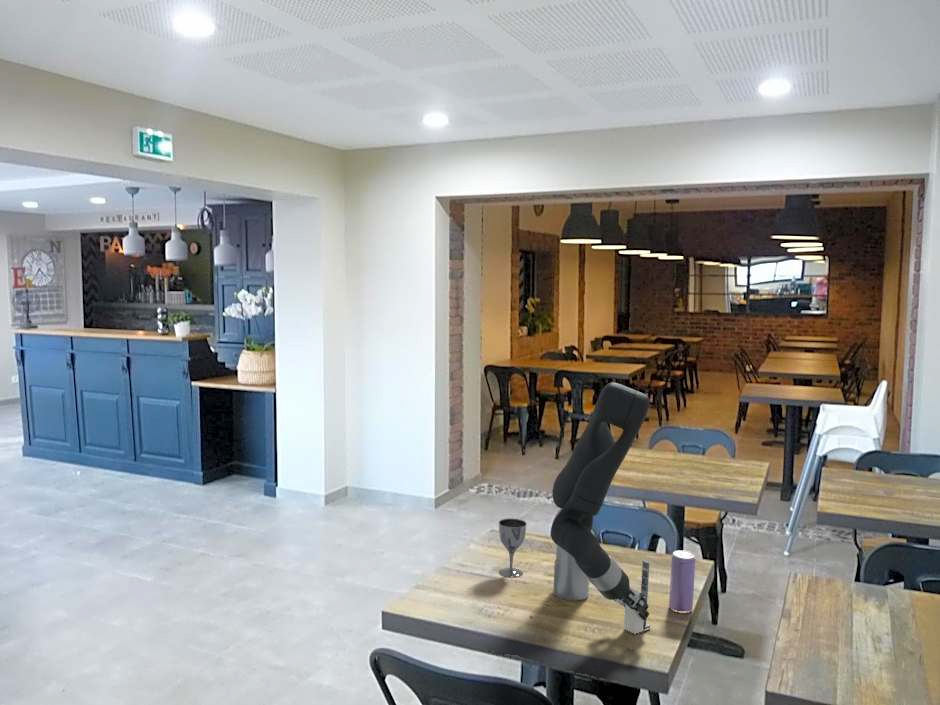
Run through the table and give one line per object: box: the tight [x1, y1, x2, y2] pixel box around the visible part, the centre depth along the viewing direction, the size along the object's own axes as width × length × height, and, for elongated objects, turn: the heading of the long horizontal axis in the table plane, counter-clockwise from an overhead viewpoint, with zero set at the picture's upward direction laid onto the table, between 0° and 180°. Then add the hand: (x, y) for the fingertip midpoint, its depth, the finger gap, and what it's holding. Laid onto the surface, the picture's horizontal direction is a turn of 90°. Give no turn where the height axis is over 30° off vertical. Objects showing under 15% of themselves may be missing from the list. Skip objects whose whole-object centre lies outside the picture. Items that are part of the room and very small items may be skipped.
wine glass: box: [498, 517, 527, 579], centre depth 219 cm, size 8×8×15 cm
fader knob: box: [623, 589, 645, 635], centre depth 185 cm, size 3×4×9 cm
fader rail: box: [640, 560, 651, 630], centre depth 186 cm, size 2×3×17 cm, turn 34°
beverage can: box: [668, 550, 696, 611], centre depth 198 cm, size 6×6×15 cm
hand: (639, 613), depth 186 cm, fingers closed on fader knob, 3 cm apart
